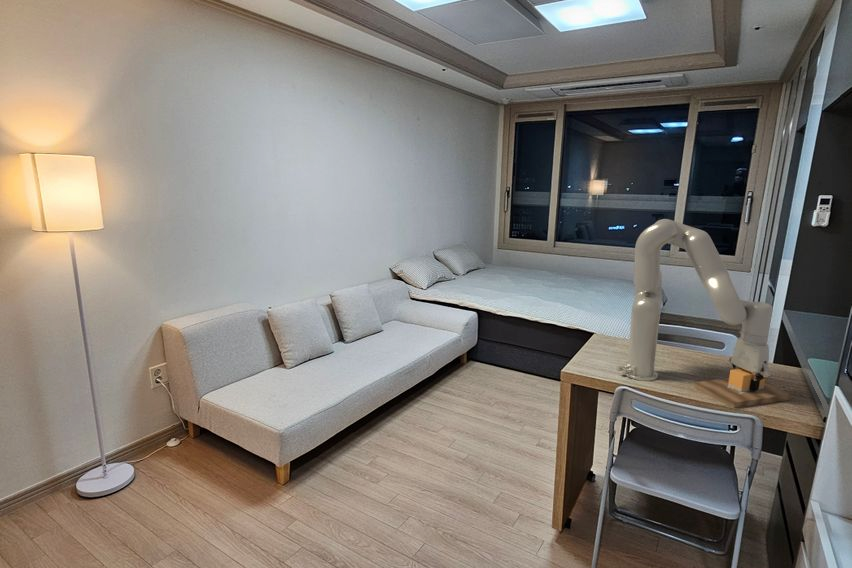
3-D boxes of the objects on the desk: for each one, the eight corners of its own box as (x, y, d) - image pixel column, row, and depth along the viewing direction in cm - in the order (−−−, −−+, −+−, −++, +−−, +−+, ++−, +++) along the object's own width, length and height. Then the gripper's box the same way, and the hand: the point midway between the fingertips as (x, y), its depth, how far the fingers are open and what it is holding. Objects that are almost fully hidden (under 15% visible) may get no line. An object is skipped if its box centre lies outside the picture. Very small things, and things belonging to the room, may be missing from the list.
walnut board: (733, 408, 146) (734, 402, 145) (694, 387, 161) (695, 382, 161) (790, 399, 151) (791, 394, 151) (747, 380, 167) (748, 375, 166)
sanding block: (741, 391, 153) (743, 375, 152) (728, 385, 158) (730, 370, 156) (763, 388, 155) (766, 372, 154) (750, 382, 160) (752, 367, 159)
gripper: (723, 331, 160) (716, 377, 164) (769, 347, 144) (760, 398, 147) (740, 329, 162) (732, 375, 165) (787, 345, 145) (778, 396, 149)
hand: (745, 386), depth 156 cm, fingers closed on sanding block, 5 cm apart
